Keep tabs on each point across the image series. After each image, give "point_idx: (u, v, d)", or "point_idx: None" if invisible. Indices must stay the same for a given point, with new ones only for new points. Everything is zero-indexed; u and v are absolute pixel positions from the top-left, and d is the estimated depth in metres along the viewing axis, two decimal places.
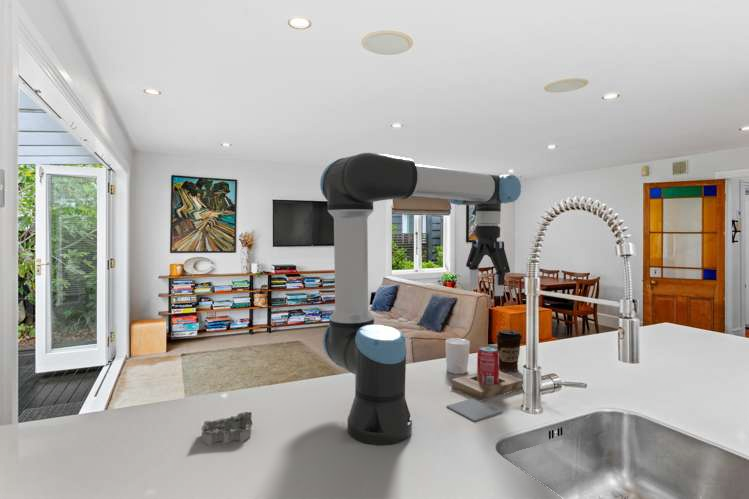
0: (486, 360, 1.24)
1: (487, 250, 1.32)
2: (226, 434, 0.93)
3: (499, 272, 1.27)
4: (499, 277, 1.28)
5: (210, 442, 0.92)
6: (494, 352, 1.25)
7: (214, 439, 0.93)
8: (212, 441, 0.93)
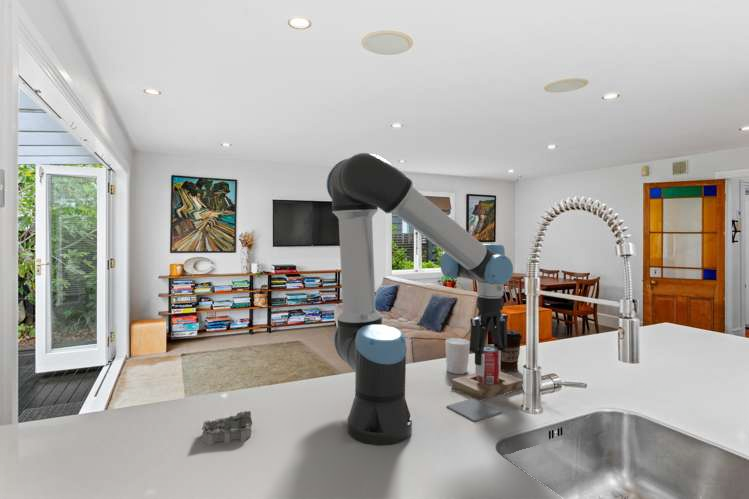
0: (486, 360, 1.24)
1: None
2: (227, 433, 0.93)
3: None
4: None
5: (211, 442, 0.92)
6: (494, 352, 1.25)
7: (215, 438, 0.93)
8: (213, 441, 0.93)
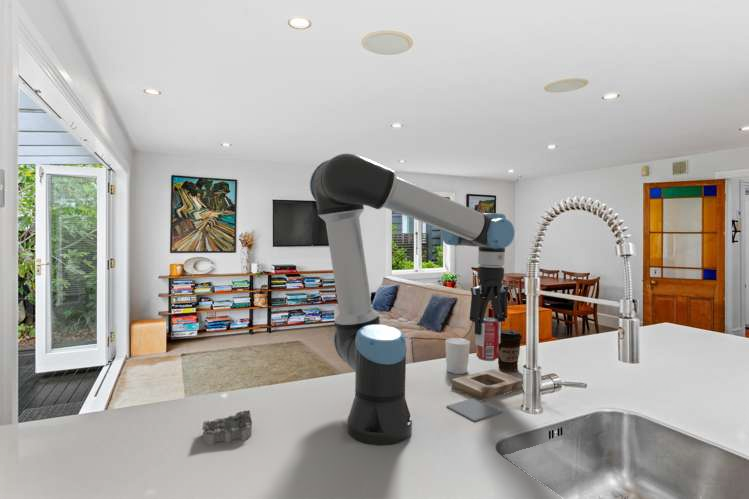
0: (486, 330, 1.24)
1: None
2: (228, 433, 0.93)
3: None
4: None
5: (212, 442, 0.92)
6: (494, 322, 1.24)
7: (216, 438, 0.93)
8: (214, 441, 0.93)
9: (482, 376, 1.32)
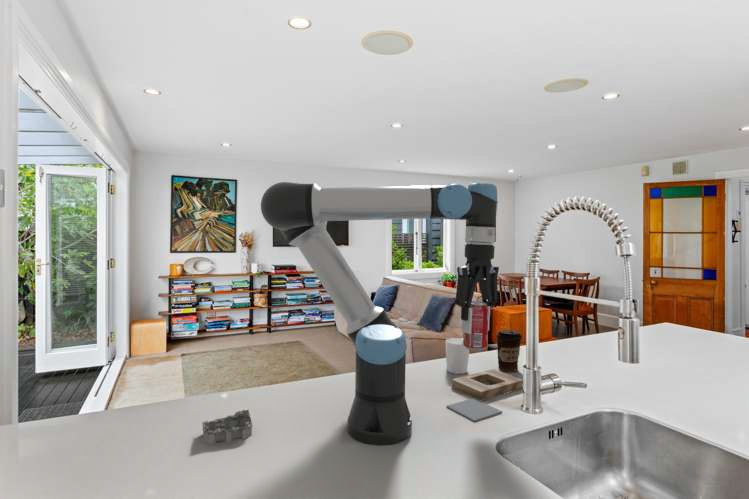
0: (474, 315, 1.10)
1: None
2: (229, 432, 0.94)
3: None
4: None
5: (213, 442, 0.92)
6: (483, 306, 1.10)
7: (216, 438, 0.94)
8: (214, 440, 0.93)
9: (482, 376, 1.32)
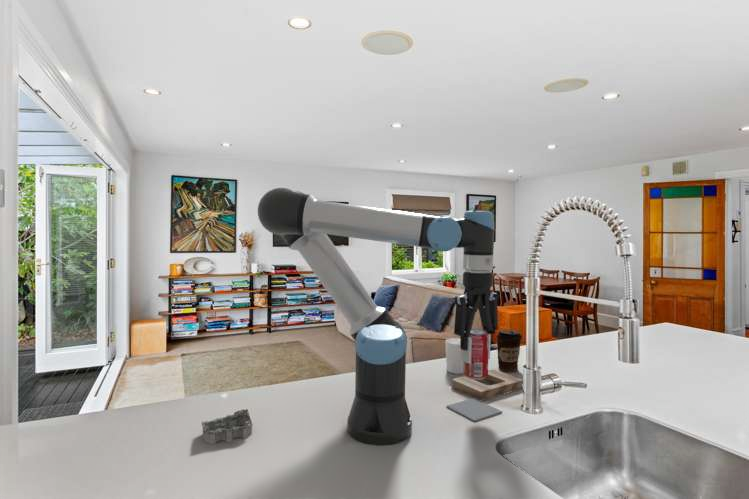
0: (474, 344, 1.08)
1: None
2: (229, 432, 0.94)
3: None
4: None
5: (213, 441, 0.93)
6: (483, 335, 1.08)
7: (217, 438, 0.94)
8: (215, 440, 0.93)
9: None
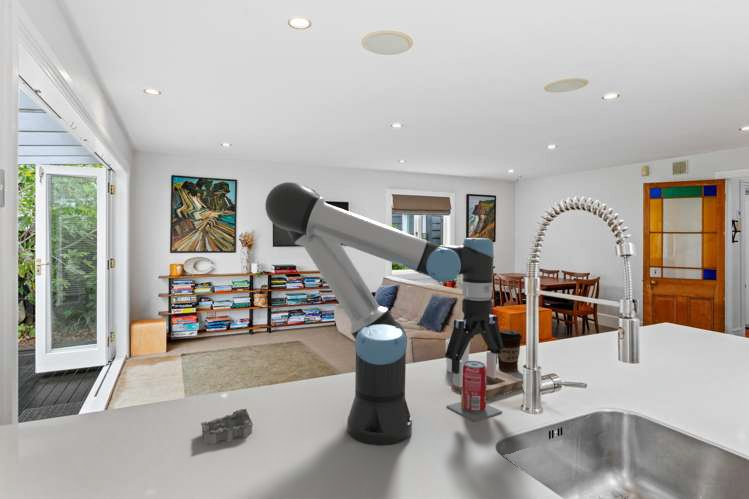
0: (471, 378, 1.08)
1: None
2: (230, 432, 0.94)
3: None
4: None
5: (214, 441, 0.93)
6: (481, 368, 1.09)
7: (217, 438, 0.94)
8: (216, 440, 0.93)
9: None
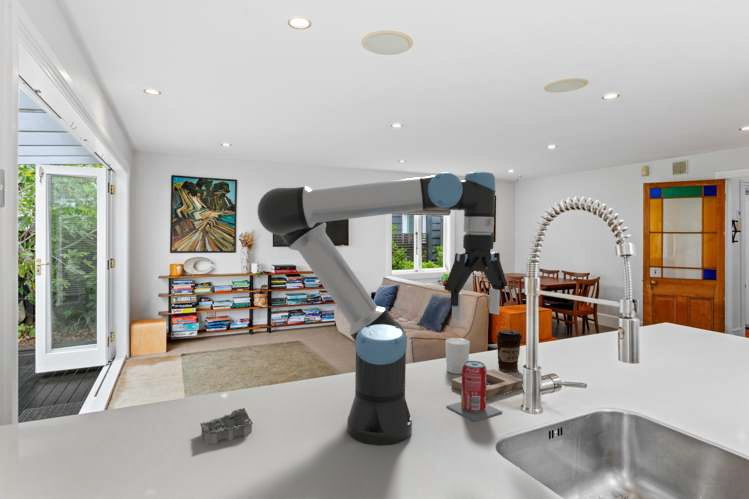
0: (471, 378, 1.08)
1: None
2: (231, 431, 0.94)
3: None
4: None
5: (215, 441, 0.93)
6: (481, 368, 1.09)
7: (218, 437, 0.94)
8: (217, 440, 0.93)
9: None
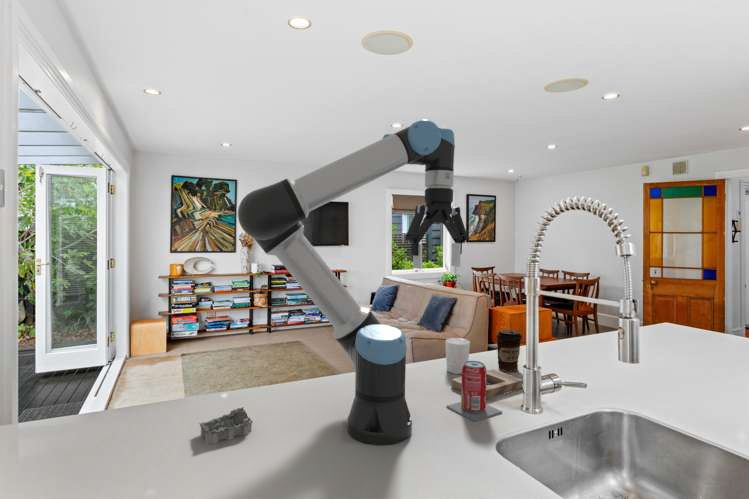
0: (471, 378, 1.08)
1: None
2: (231, 430, 0.95)
3: (410, 240, 1.12)
4: None
5: (216, 441, 0.93)
6: (480, 368, 1.09)
7: (218, 437, 0.94)
8: (217, 440, 0.93)
9: None
